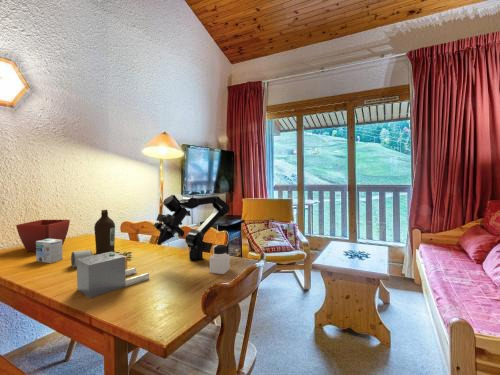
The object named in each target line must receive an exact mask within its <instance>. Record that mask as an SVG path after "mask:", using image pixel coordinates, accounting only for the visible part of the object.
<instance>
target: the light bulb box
mask: <svg viewBox="0 0 500 375" xmlns="http://www.w3.org/2000/svg"><path fill="white" fill-rule="evenodd" d="M63 255H64V254H63V246H62V240H58V239H44V240H40V241H36V252H35V258H36V259H35V261H36V262H40V263H45V264H51V263H55V262H59V261H62V260H63V259H64V257H63Z"/></svg>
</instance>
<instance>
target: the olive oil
mask: <svg viewBox="0 0 500 375" xmlns="http://www.w3.org/2000/svg"><path fill="white" fill-rule="evenodd" d="M100 216H101V217H99V218H98V220H96V222H95V223H94V227H93V228H94V238H95V240H94V241H95V242H94V243H95V253H96V254H95V255H97V254H102V253H107V252H114V253H115V244H116V242H115V241H116V240H115V239H116V237H115V236H116V224H115V221H114V220H113V219H112V218H110V217H109V212H108V209H101V213H100Z"/></svg>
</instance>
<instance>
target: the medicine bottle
mask: <svg viewBox="0 0 500 375" xmlns="http://www.w3.org/2000/svg"><path fill="white" fill-rule="evenodd" d="M212 253H213V254H212V255H211V256H209V273H211V274H220V275H224V274H226V273H227V272H228V271H229V270H230V269H231V268H230V267H231V266H230V264H231V262H230V260H231V259H230V258H231V256H230V254H228V253H227V246H226V245H224V244H222V243H220V244H215V245H214V246H213V247H212Z"/></svg>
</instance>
